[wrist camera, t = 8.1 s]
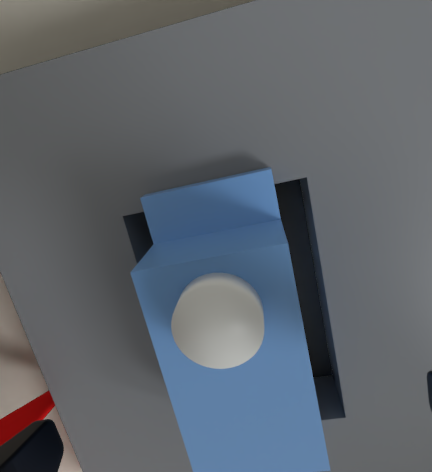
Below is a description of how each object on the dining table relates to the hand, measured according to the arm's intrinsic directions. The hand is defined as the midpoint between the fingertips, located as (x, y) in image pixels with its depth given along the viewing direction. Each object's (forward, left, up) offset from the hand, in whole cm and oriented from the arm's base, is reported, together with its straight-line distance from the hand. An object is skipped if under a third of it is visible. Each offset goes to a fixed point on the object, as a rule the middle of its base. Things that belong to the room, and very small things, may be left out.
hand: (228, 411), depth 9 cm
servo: (0, 0, -7) cm, 7 cm away
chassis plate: (0, 0, -7) cm, 7 cm away
